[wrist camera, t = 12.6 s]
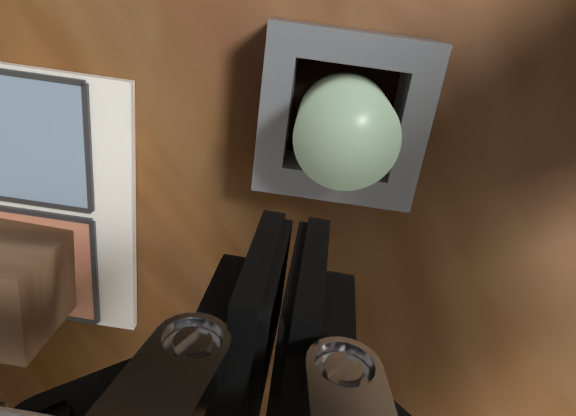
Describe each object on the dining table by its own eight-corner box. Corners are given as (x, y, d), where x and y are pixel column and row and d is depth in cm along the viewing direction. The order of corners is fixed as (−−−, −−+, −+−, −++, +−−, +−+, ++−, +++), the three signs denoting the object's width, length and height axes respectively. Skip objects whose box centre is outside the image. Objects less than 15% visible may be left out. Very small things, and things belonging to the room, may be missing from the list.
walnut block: (-18, 214, 28) (-95, 261, 23) (73, 230, 28) (17, 281, 23) (-9, 291, 30) (-76, 349, 25) (76, 306, 30) (26, 367, 25)
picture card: (-88, 49, 25) (-102, 50, 24) (134, 80, 25) (128, 83, 24) (-40, 298, 31) (-49, 305, 30) (136, 324, 31) (132, 332, 30)
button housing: (274, 17, 23) (268, 19, 20) (437, 39, 23) (452, 44, 20) (258, 170, 26) (250, 190, 23) (400, 190, 26) (409, 213, 23)
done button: (304, 65, 21) (300, 78, 18) (399, 79, 21) (413, 93, 18) (292, 156, 23) (286, 183, 20) (379, 168, 23) (388, 197, 20)
